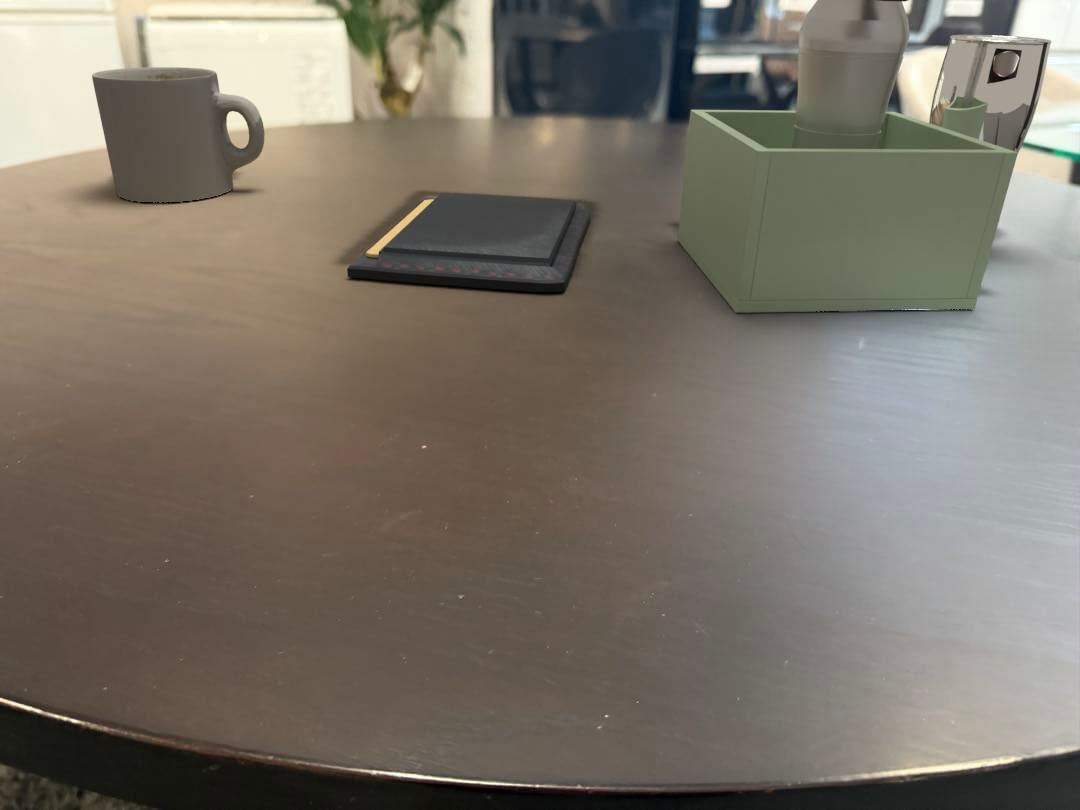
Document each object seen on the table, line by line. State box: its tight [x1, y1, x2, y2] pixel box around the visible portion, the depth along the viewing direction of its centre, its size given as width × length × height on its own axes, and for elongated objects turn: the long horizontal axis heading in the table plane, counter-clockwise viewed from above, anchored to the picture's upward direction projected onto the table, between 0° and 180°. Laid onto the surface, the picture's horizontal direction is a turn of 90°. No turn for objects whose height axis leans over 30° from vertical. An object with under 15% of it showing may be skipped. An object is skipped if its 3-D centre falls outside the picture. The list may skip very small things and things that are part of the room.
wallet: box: [346, 192, 591, 294], centre depth 63 cm, size 20×2×15 cm
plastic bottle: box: [791, 0, 911, 149], centre depth 54 cm, size 6×7×20 cm
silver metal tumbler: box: [928, 34, 1053, 156], centre depth 63 cm, size 7×7×15 cm
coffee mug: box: [91, 66, 265, 204], centre depth 74 cm, size 13×10×10 cm
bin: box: [677, 109, 1019, 314], centre depth 57 cm, size 16×16×10 cm
